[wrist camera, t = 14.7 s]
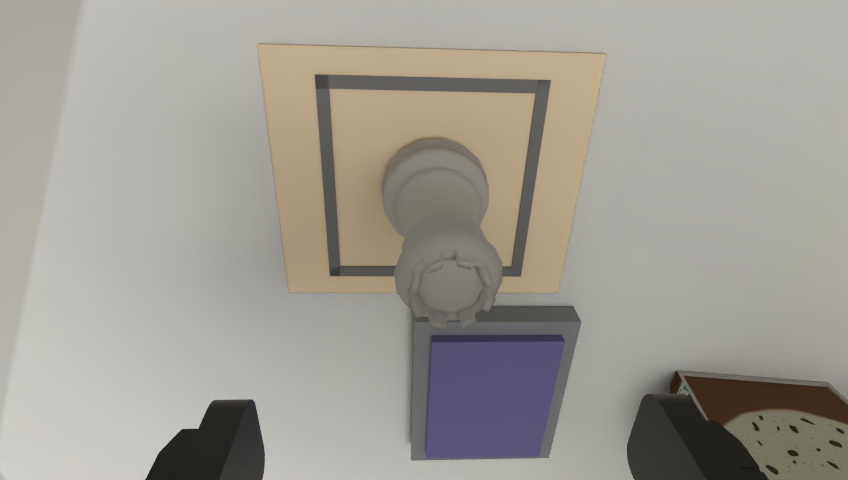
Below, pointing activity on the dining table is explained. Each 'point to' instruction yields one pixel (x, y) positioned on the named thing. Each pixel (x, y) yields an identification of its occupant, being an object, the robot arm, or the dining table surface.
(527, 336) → the ink pad
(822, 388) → the food container
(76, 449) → the dining table surface
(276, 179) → the marked card
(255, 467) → the robot arm
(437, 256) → the rook chess piece
